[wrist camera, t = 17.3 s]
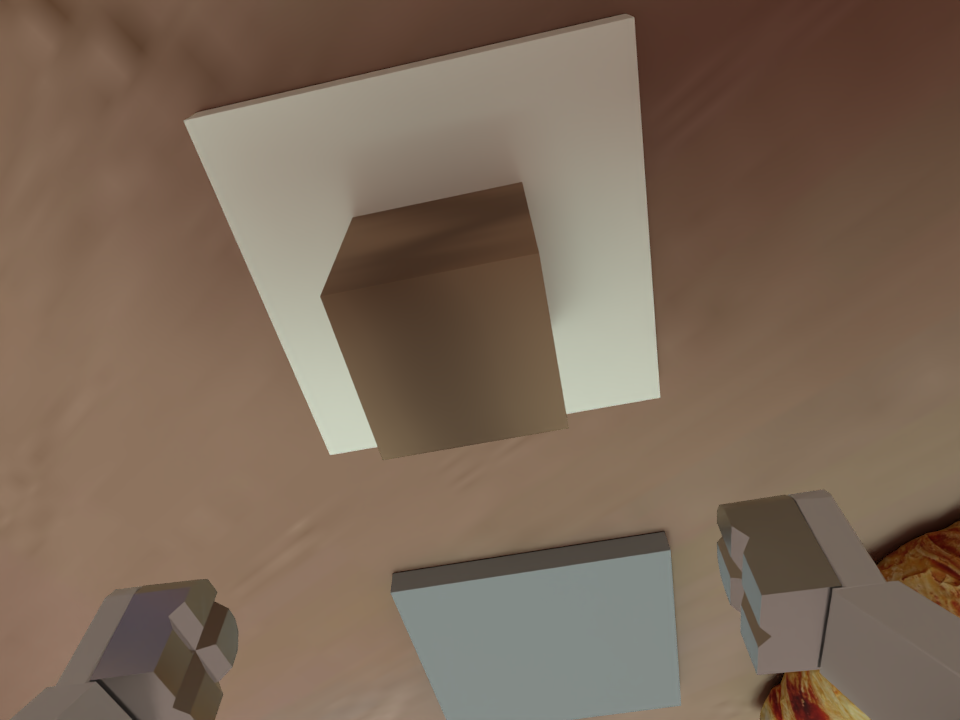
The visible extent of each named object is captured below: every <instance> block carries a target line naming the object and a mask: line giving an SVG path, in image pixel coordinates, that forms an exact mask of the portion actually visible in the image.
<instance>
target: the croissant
mask: <svg viewBox="0 0 960 720" xmlns="http://www.w3.org/2000/svg"><path fill="white" fill-rule="evenodd" d="M876 566H877V567H878V569H879V570H880V572H881V574H882V575H883V577H884V578H885V580H886V581H887V582H888V581H900V582H901V583H903V584H905V585H906V586H908V587H909V588H911V589H913V590H914V591H916V592H918V593H919V594H921V595H923V596H924V597H926V598H928V599H929V600H931V601H932V602H934V603H936V604H937V605H939V606H941V607H942V608H944V609H946V610H947V611H949V612H951V613H952V614H954V615H955V616H957V617H959V618H960V521H958V522H955V523H953V524H952V525H950V526H949V527H947V528H944V529H942V530H939V531H936V532H930V533H926V534H924V535H922V536H920V537H917V538H915V539H913V540H911V541H909V542H908V543H906V544H904V545H902V546H901V547H899V548H898V549H897V550H896V551H894V552H892V553H890V554H889V555H887V556H886V557H885V558H884V559H883V560H882V561H881V562H880V563H878V564H877V565H876ZM760 720H871V719H870V718H869V717H868V716H867V715H866V714H865V713H863V712H862V711H861V710H860V709H859V708H858V707H857V706H856V705H855V704H854V703H852V702H851V701H850V700H849V699H848V698H847V697H846V696H845V695H844V694H842V693H841V692H840V691H839V690H838V689H837V688H836V687H835V686H834V685H833V684H831V683H830V682H829V681H828V680H827V679H826V678H825V677H824V676H823V675H822V674H820V669H819V670H808V671H796V672H785V673H784V676H783V678H782V681H781V683H780V684H778V685H776V686H775V687H773V688H772V689H771V691H770V693H769V695H768V697H767V699H766V701H765V702H764V704H763V707H762V710H761V713H760Z"/></svg>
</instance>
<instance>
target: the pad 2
mask: <svg viewBox="0 0 960 720" xmlns="http://www.w3.org/2000/svg"><path fill="white" fill-rule="evenodd" d="M391 595H392V597H393V599H394V601H395V604H396V606H397V608H398V611H399V613H400V615H401V617H402V620H403V622H404V624H405V627H406V629H407V631H408V633H409V636H410V638H411V640H412V642H413V645H414V647H415V649H416V652H417V654H418V656H419V658H420V661H421V663H422V665H423V668H424V670H425V672H426V674H427V677H428V679H429V681H430V683H431V686H432V688H433V690H434V693H435V695H436V697H437V699H438V702H439V704H440V706H441V709H442V711H443V713H444V715H445V718H446V720H573V719H580V718H588V717H596V716H604V715H611V714H619V713H627V712H634V711H642V710H650V709H658V708H665V707H673V706H681V697H680V682H679V667H678V652H677V638H676V623H675V608H674V594H673V579H672V564H671V550H670V547H669V544H668V541H667V538H666V535H665V532H659V533H653V534H646V535H640V536H633V537H627V538H620V539H614V540H608V541H601V542H595V543H588V544H582V545H575V546H569V547H562V548H556V549H549V550H543V551H536V552H530V553H524V554H517V555H511V556H504V557H498V558H491V559H485V560H478V561H472V562H465V563H459V564H452V565H446V566H440V567H433V568H427V569H420V570H414V571H407V572H401V573H394V574H393V577H392V585H391Z"/></svg>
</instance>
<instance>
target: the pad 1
mask: <svg viewBox="0 0 960 720" xmlns="http://www.w3.org/2000/svg"><path fill="white" fill-rule="evenodd" d="M184 123H185V125H186V128H187V130H188V132H189V134H190V137H191V139H192V141H193V144H194V146H195V148H196V150H197V153H198V155H199V157H200V160H201V162H202V164H203V166H204V169H205V171H206V173H207V175H208V178H209V180H210V182H211V185H212V187H213V189H214V191H215V194H216V196H217V198H218V201H219V203H220V205H221V207H222V210H223V212H224V214H225V216H226V219H227V221H228V223H229V226H230V228H231V230H232V232H233V235H234V237H235V239H236V242H237V244H238V246H239V248H240V251H241V253H242V255H243V257H244V260H245V262H246V264H247V267H248V269H249V271H250V273H251V276H252V278H253V280H254V283H255V285H256V287H257V289H258V292H259V294H260V296H261V298H262V301H263V303H264V305H265V308H266V310H267V312H268V314H269V317H270V319H271V321H272V324H273V326H274V328H275V330H276V333H277V335H278V337H279V339H280V342H281V344H282V346H283V349H284V351H285V353H286V355H287V358H288V360H289V362H290V365H291V367H292V369H293V371H294V374H295V376H296V378H297V380H298V383H299V385H300V387H301V390H302V392H303V394H304V396H305V399H306V401H307V403H308V406H309V408H310V410H311V412H312V415H313V417H314V419H315V421H316V424H317V426H318V428H319V431H320V433H321V435H322V437H323V440H324V442H325V444H326V447H327V449H328V451H329V453H330V455H333V454H339V453H345V452H351V451H356V450H362V449H368V448H374V447H377V444H376V441H375V439H374V436H373V433H372V431H371V428H370V426H369V423H368V420H367V418H366V415H365V413H364V410H363V407H362V405H361V402H360V400H359V397H358V394H357V392H356V389H355V386H354V384H353V381H352V379H351V376H350V373H349V371H348V368H347V366H346V363H345V360H344V358H343V355H342V353H341V350H340V347H339V345H338V342H337V339H336V337H335V334H334V332H333V329H332V326H331V324H330V321H329V319H328V316H327V313H326V311H325V308H324V306H323V303H322V300H321V298H320V295H321V293H322V290H323V288H324V286H325V283H326V281H327V278H328V276H329V273H330V271H331V268H332V266H333V264H334V261H335V259H336V256H337V254H338V251H339V249H340V247H341V244H342V242H343V239H344V237H345V234H346V232H347V230H348V227H349V225H350V222H351V220H352V217H357V216H362V215H366V214H371V213H376V212H381V211H386V210H390V209H395V208H400V207H405V206H409V205H414V204H419V203H424V202H428V201H433V200H438V199H443V198H448V197H452V196H457V195H462V194H467V193H471V192H476V191H481V190H486V189H491V188H495V187H500V186H505V185H510V184H514V183H519V182H522V183H523V188H524V192H525V196H526V200H527V204H528V209H529V213H530V217H531V221H532V225H533V229H534V234H535V238H536V242H537V246H538V250H539V255H540V261H541V267H542V273H543V279H544V285H545V291H546V297H547V302H548V308H549V314H550V320H551V326H552V332H553V338H554V344H555V350H556V356H557V362H558V368H559V373H560V379H561V385H562V391H563V397H564V403H565V409H566V414H569V413H575V412H580V411H586V410H592V409H598V408H603V407H609V406H615V405H621V404H626V403H632V402H638V401H644V400H649V399H655V398H660V388H659V373H658V358H657V344H656V329H655V314H654V300H653V285H652V270H651V255H650V241H649V226H648V211H647V197H646V182H645V167H644V152H643V138H642V123H641V108H640V94H639V79H638V64H637V50H636V35H635V20H634V17H633V16H631V15H628V14H621V15H617V16H613V17H608V18H604V19H600V20H595V21H591V22H587V23H582V24H578V25H574V26H569V27H565V28H561V29H556V30H552V31H548V32H543V33H539V34H535V35H530V36H526V37H522V38H517V39H513V40H509V41H504V42H500V43H496V44H491V45H487V46H483V47H478V48H474V49H470V50H465V51H461V52H457V53H452V54H448V55H444V56H439V57H435V58H431V59H426V60H422V61H418V62H413V63H409V64H405V65H400V66H396V67H392V68H387V69H383V70H379V71H374V72H370V73H366V74H361V75H357V76H353V77H348V78H344V79H340V80H335V81H331V82H327V83H322V84H318V85H314V86H309V87H305V88H301V89H296V90H292V91H288V92H283V93H279V94H275V95H270V96H266V97H261V98H257V99H253V100H248V101H244V102H240V103H235V104H231V105H227V106H222V107H218V108H214V109H209V110H205V111H201V112H197V113H195V114H193V115H192V116H190V117H189V118H187V119H185V120H184Z"/></svg>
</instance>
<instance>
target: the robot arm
mask: <svg viewBox="0 0 960 720" xmlns="http://www.w3.org/2000/svg"><path fill="white" fill-rule="evenodd" d="M717 524H718V526H719V529H720V531H721V534H722V537H721V539H720V540H719V541H718V542H717V555H718V563H719V569H720V574H721V578H722V582H723V585H724V588H725V591H726V594H727V597H728V600H729V602H730V605H731V606H733V607H734V608H735V609H737V610H738V611H739V612H740V613H741V634H742V637H743V640H744V642H745V645H746V647H747V650H748V652H749V655H750V658H751V660H752V663H753V665H754V668H755V671H756V673H757V675H761V674H773V673H785V672H796V671H808V670H819V669H820V674H822V675H823V676H824V677H825V678H826V679H827V680H828V681H829V682H830V683H831V684H833V685H834V686H835V687H836V688H837V689H838V690H839V691H840V692H841V693H842V694H844V695H845V696H846V697H847V698H848V699H849V700H850V701H851V702H852V703H854V704H855V705H856V706H857V707H858V708H859V709H860V710H861V711H862V712H863V713H865V714H866V715H867V716H868V717H869V718H870V719H871V720H960V618H959V617H957V616H955V615H954V614H952V613H951V612H949V611H947V610H946V609H944V608H942V607H941V606H939V605H937V604H936V603H934V602H932V601H931V600H929V599H928V598H926V597H924V596H923V595H921V594H919V593H918V592H916V591H914V590H913V589H911V588H909V587H908V586H906V585H905V584H903V583H901V582H900V581H888V582H887V581H886V580H885V578H884V577H883V575H882V574H881V572H880V570H879V569H878V567H877V566H876V564H875V563H874V561H873V560H872V558H871V556H870V555H869V553H868V552H867V550H866V549H865V547H864V545H863V544H862V542H861V541H860V539H859V538H858V536H857V534H856V533H855V531H854V530H853V528H852V527H851V525H850V523H849V522H848V520H847V519H846V517H845V516H844V514H843V513H842V511H841V509H840V508H839V506H838V505H837V503H836V502H835V500H834V498H833V497H832V495H831V494H830V493H828V492H827V491H826V490H817V491H810V492H803V493H796V494H789V495H780V496H773V497H767V498H760V499H754V500H747V501H741V502H734V503H728V504H721V505H719V507H718V510H717ZM216 594H217V591H216V589H215V588H214V587H213V585H212V584H211V583H210V581H209V580H208V579H200V580H190V581H181V582H173V583H164V584H155V585H146V586H140V587H132V588H124V589H116V590H114V591H113V592H112V593H111V594H109V595H108V596H107V597H106V598H105V599H104V601H103V603H102V605H101V606H100V608H99V610H98V612H97V614H96V615H95V617H94V619H93V621H92V622H91V624H90V626H89V628H88V629H87V631H86V633H85V635H84V637H83V638H82V640H81V642H80V644H79V645H78V647H77V649H76V651H75V653H74V654H73V656H72V658H71V660H70V661H69V663H68V665H67V667H66V668H65V670H64V672H63V674H62V676H61V677H60V679H59V681H58V683H57V684H56V686H53V687H47V688H45V689H44V690H43V691H42V692H41V693H40V694H39V695H37V696H36V697H35V698H34V699H33V700H32V701H31V702H29V703H28V704H27V705H26V706H25V707H24V708H23V709H22V710H20V711H19V712H18V713H17V714H16V715H15V716H14V717H12V718H11V719H10V720H215V717H216V714H217V711H218V708H219V706H220V703H221V700H222V697H223V692H222V690H221V687H220V684H219V681H220V680H221V679H222V678H223V677H224V676H225V675H226V673H227V672H228V671H229V670H230V669H231V668H232V667H233V663H234V660H235V657H236V654H237V650H238V628H237V624H236V620H235V618H234V616H233V614H232V613H231V611H230V610H229V609H228V608H227V607H225V606H223V605H221V604H219V603H217V602H215V601H214V600H215V597H216Z"/></svg>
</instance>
